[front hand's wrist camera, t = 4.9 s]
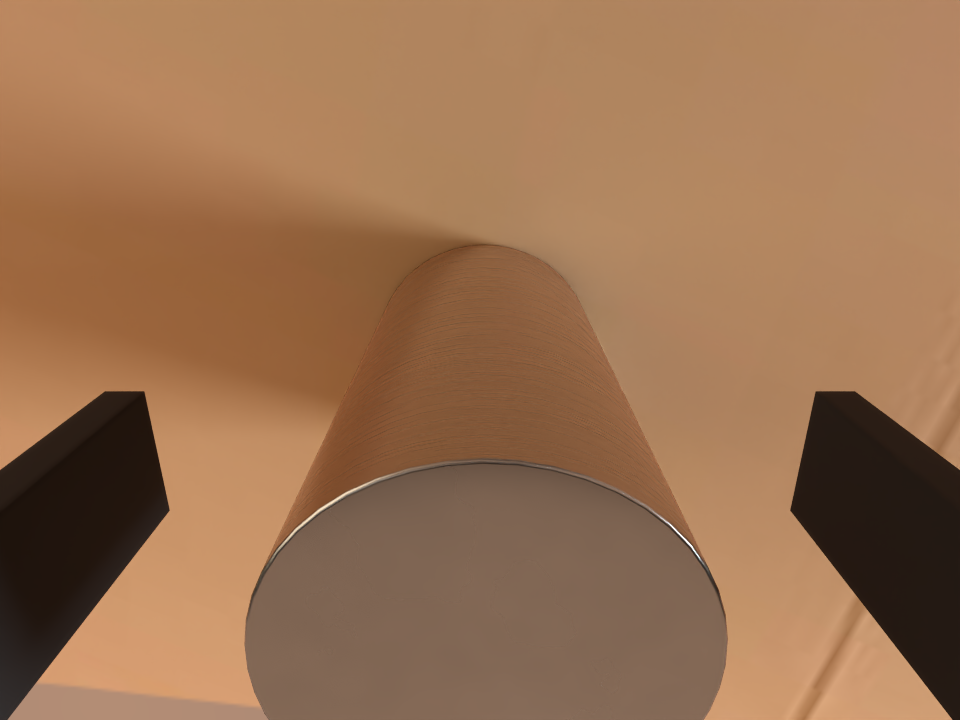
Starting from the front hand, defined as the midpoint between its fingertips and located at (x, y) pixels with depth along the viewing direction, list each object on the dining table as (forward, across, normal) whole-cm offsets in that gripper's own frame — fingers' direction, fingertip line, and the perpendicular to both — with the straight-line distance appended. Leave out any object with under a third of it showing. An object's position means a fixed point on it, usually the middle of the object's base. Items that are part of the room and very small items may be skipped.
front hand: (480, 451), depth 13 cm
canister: (+5, 0, 0) cm, 5 cm away
